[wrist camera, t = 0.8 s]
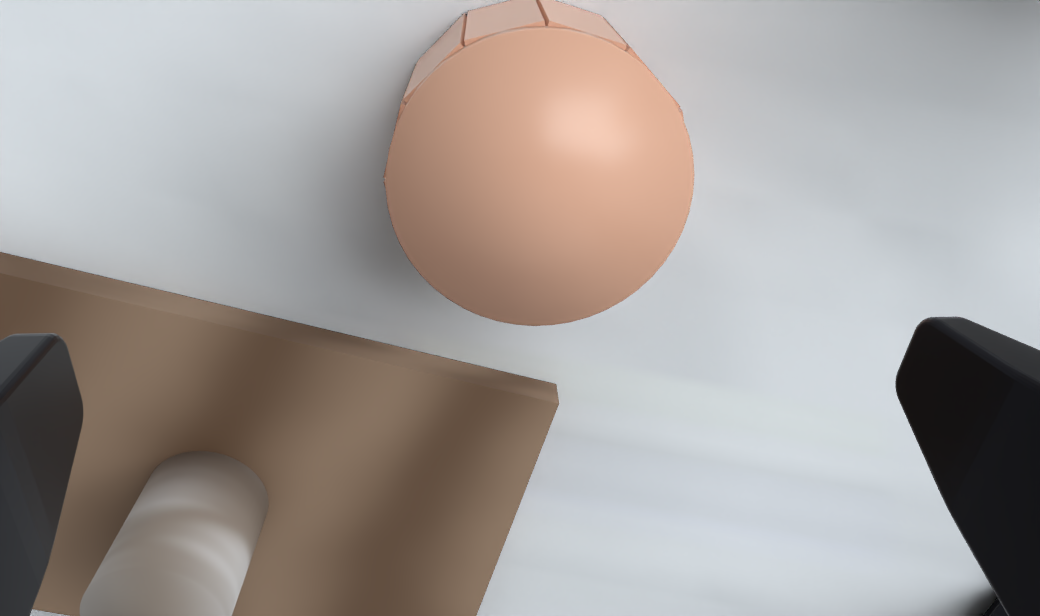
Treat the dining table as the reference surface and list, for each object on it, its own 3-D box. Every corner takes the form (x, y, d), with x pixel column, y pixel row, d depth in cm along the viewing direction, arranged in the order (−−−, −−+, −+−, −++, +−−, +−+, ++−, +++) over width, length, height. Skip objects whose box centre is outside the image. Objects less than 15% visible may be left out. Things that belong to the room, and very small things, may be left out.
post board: (556, 384, 24) (574, 513, 19) (452, 655, 29) (445, 811, 24) (-108, 226, 21) (-290, 331, 16) (-92, 561, 26) (-225, 717, 21)
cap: (690, 44, 19) (744, 85, 15) (604, 269, 22) (630, 353, 18) (439, -37, 18) (427, -15, 14) (381, 210, 21) (356, 286, 17)
